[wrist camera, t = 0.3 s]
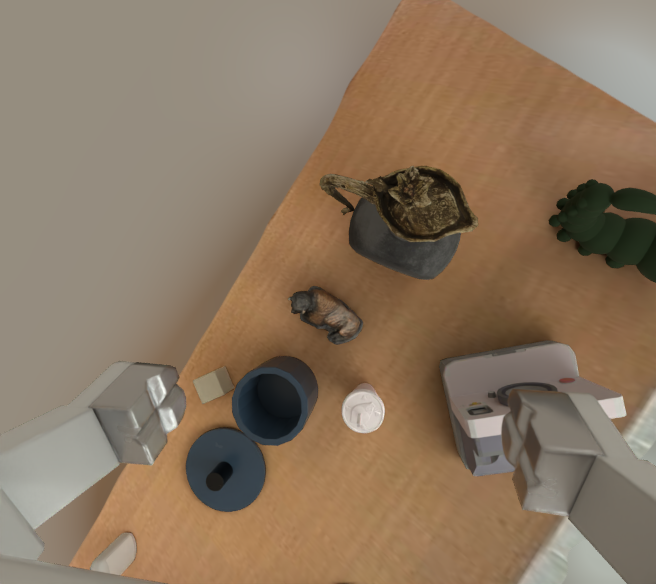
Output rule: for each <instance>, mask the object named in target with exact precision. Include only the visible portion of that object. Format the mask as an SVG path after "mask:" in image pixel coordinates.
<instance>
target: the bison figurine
mask: <svg viewBox="0 0 656 584" xmlns="http://www.w3.org/2000/svg"><path fill="white" fill-rule="evenodd" d="M288 300H291V301H292V303H291V307H292V311H291V313H293V314H297V313H300V319H301V320H302V321H304V322H306V323H308V324H310V325H312V326H314V327H316V328H317V329H326V330H327V331H328V332H329V333H328V335H327V338H328V339H329V341H330V342H332V343H334V344H337V345H338V344H342V343H346V342H348V341H351V340H353V339H355V338H356V337H357V336H358V334H359V333H360V331H361V329H362V327H363V321H362V320H361V319H360V318H359V317H358V316H357V315H356V314H355V312H354V311H352V310H351V309H350V308H349V307H348V306H347V305H346V304H345V303H344V302H343V301H341V300H340V299H338V298H336V297H334V296H332V295H331V294H329V293H327V292H326V291H325V290H323V289H322V288H320V287H316V286H312V287H311V288H310V289H309V290H308V291H299V292H296V293H294V294H293V296H292V297H289V298H288Z"/></svg>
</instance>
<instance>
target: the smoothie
mask: <svg viewBox="0 0 656 584" xmlns="http://www.w3.org/2000/svg"><path fill="white" fill-rule="evenodd" d="M384 414H385V409H384V404H383V402H382V400H381V398H380V397H379V396H378V395H377V393H376V391H375V389H374V387H373V386H372V385H370V384H368V383H361V384H359V385H358V386H357V387H356V388H355V389H354V391H352V392H351V393H349V394H348V395H347V396H346V397H345V399H344V401H343V405H342V417H343V420H344V422H345V423H346V425H347V426H348V427H349V428H350V429H352V430H353V431H355V432H358V433H370V432H372V431H374V430H376V429H377V428H378V427H379V426H380V425H381V423H382V422H383V419H384Z"/></svg>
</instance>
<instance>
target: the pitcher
mask: <svg viewBox="0 0 656 584" xmlns="http://www.w3.org/2000/svg"><path fill="white" fill-rule="evenodd" d="M366 183H368V184H370V185H373V186H370V185H368V184H366ZM320 186H321V189H322V190H324V191H325V192H326V193H327V194H328V195H331V196H332V197H334V198H335V199H336V200H338V201H339V202H341V203H342V204H344V205H346V206H347V207H346V208H344V209H342V210H341V212H342V213H343V215H345V214H346V213H348V212H352V211H354V212H353V215H352V218H351V221H350V228H349V244H350V246H351V247H352V248H353V249H354V250H355V251H356V252H357V253H358V254H360V255H362V256H364V257H366V258H368V259H370V260H372V261H374V262H376V263H378V264H380V265H383V266H385V267H387V268H390V269H392V270H395V271H397V272H400V273H403V274H405V275H408V276H411V277H414V278H418V279H424V280H429V279H434V278H435V277H436V276H437V275H438V274H440V273H441V272H442V271H443V270H444V269H445V267H446V266H447V265H448V264H449V262H450V261H451V259H452V258H453V256H454V254H455V252H456V250H457V247H458V244H459V241H460V235H461V233H462V232H472V231H473V230H474V229H475V228H476V227H477V226H478V218H477V217H476V216H475V215H474V214H473V213H472V211H471V210H470V208H469V206H468V203H467V201H466V198H465V196H464V193H463V191H462V188H461V186H460V185H459V184H458V183H457V182H456V181H455V180H454V179H453V178H452V177H451V176H450V175H449V174H447V173H445V172H444V171H442V170H440V169H437V168H433V167H428V166H418V167H414V166H411V167H410V168H408V169H401V170H397V171H394V172H392V173H390V174H389V175H387V176H385V177H381V176H380V177H378V178H376V179H373V180H372V179H369V180H367V181H366V182H363V181H359V180H355V179H352V178H348V177H344V176H340V175H336V174H328V175H325V176H323V177H322V178H321V180H320ZM335 187H337V188H341V189H344V190H346V191H349V192H352V193H354V194H356V195H358V196H360V197H362V198H361V199H360V200H359V202H358V204H357V206H356V208H355V209H354V207H353V206H352V205H351V203H350V202H349V201H348V200H347V199H346V198H345V197H343V196H342V195H341V194H340V193H339V192H338V191H337V190H336V188H335ZM348 208H349V209H348Z"/></svg>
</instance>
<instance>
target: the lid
mask: <svg viewBox="0 0 656 584" xmlns="http://www.w3.org/2000/svg"><path fill="white" fill-rule="evenodd" d="M186 474H187V479H188V482H189V485H190V487H191V489H192V491H193V492H194V494H195V495H196V496H197V497H198V499H199V500H201V501H202V502H203V503H204V504H205V505H207V506H209V507H210V508H213V509H215V510H219V511H224V512H232V511H237V510H241V509H243V508H245V507H247V506H248V505H250V504H251V503H252V502H253V501H254V500H255V499H256V498H257V496H258V495H259V493H260V492H261V490H262V487H263V485H264V482H265V476H266V468H265V461H264V458H263V455H262V453H261V451H260V449H259V447H258V446H257V444H256V443H255V442H254V441H253V440H251V439H249V438H248V437H247V436H246V435H245V434H244V433H243V432H241V431H239V430H236V429H232V428H216V429H212V430H210V431H208V432H206V433H204V434H203V435H201V436H200V437H199V438H198V439H197V440H196V441H195V442H194V444H193V445H192V447H191V448H190V451H189V453H188V456H187V461H186Z"/></svg>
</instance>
